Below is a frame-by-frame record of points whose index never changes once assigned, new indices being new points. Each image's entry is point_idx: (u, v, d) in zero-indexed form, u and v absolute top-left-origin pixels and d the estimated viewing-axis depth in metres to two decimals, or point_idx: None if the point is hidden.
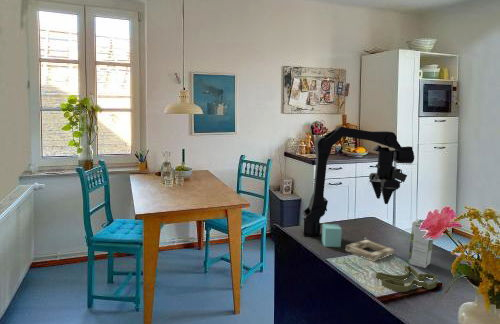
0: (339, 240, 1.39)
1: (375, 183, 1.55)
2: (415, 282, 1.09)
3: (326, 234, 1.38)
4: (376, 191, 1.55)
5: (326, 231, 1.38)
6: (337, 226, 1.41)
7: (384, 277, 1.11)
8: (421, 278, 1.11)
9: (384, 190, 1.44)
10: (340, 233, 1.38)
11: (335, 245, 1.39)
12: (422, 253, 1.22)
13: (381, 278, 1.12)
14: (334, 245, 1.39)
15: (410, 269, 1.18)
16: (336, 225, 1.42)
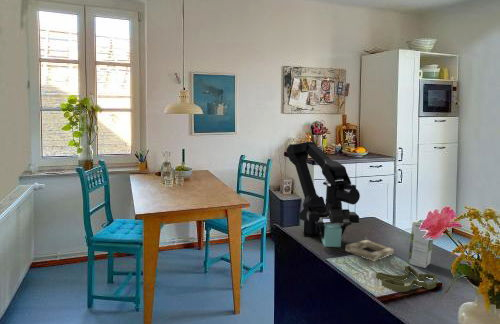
0: (339, 240, 1.39)
1: None
2: (415, 282, 1.09)
3: (326, 234, 1.38)
4: None
5: (326, 231, 1.38)
6: (337, 226, 1.41)
7: (384, 277, 1.11)
8: (421, 278, 1.11)
9: None
10: (340, 233, 1.38)
11: (335, 245, 1.39)
12: (422, 253, 1.22)
13: (381, 278, 1.12)
14: (334, 245, 1.39)
15: (410, 269, 1.18)
16: (336, 225, 1.42)
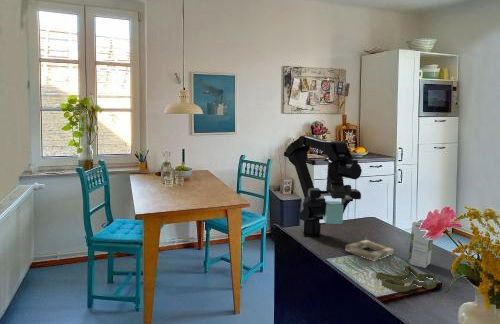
0: (341, 217, 1.38)
1: (342, 199, 1.41)
2: (415, 282, 1.09)
3: (327, 210, 1.37)
4: None
5: (327, 207, 1.37)
6: (339, 203, 1.40)
7: (384, 277, 1.11)
8: (421, 278, 1.11)
9: (319, 199, 1.42)
10: (342, 209, 1.37)
11: (337, 222, 1.38)
12: (422, 253, 1.22)
13: (381, 278, 1.12)
14: (336, 222, 1.38)
15: (410, 269, 1.18)
16: (338, 202, 1.41)
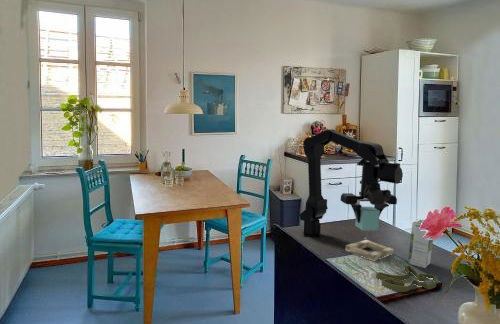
0: (377, 223, 1.31)
1: (375, 204, 1.35)
2: (415, 282, 1.09)
3: (364, 217, 1.30)
4: None
5: (364, 214, 1.30)
6: (373, 208, 1.33)
7: (384, 277, 1.11)
8: (421, 278, 1.11)
9: None
10: (378, 215, 1.31)
11: (373, 228, 1.31)
12: (422, 253, 1.22)
13: (381, 278, 1.12)
14: (372, 228, 1.31)
15: (410, 269, 1.18)
16: (371, 207, 1.35)
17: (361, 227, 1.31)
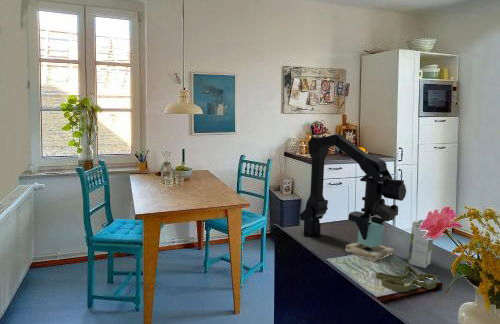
0: (381, 237, 1.32)
1: (374, 218, 1.36)
2: (415, 282, 1.09)
3: (373, 234, 1.29)
4: None
5: (373, 231, 1.29)
6: (375, 223, 1.34)
7: (384, 277, 1.11)
8: (421, 278, 1.11)
9: (357, 223, 1.31)
10: (382, 230, 1.32)
11: (378, 244, 1.32)
12: (422, 253, 1.22)
13: (381, 278, 1.12)
14: (378, 244, 1.32)
15: (410, 269, 1.18)
16: (371, 222, 1.35)
17: (370, 244, 1.30)
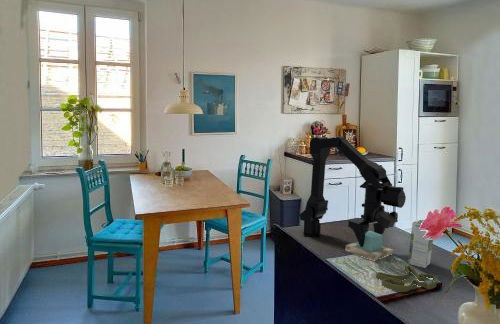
0: (380, 247, 1.33)
1: (375, 224, 1.37)
2: (415, 282, 1.09)
3: (372, 244, 1.30)
4: None
5: (372, 240, 1.29)
6: (374, 233, 1.34)
7: (384, 277, 1.11)
8: (421, 278, 1.11)
9: (355, 230, 1.31)
10: (381, 240, 1.32)
11: None
12: (422, 253, 1.22)
13: (381, 278, 1.12)
14: None
15: (410, 269, 1.18)
16: (371, 232, 1.35)
17: None
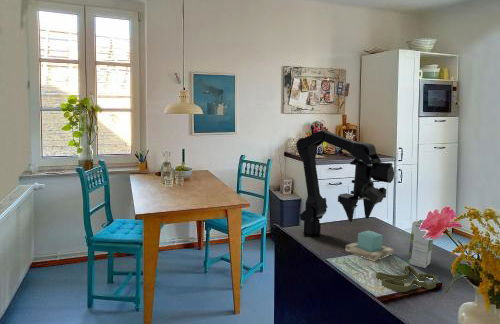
0: (380, 247, 1.33)
1: (365, 201, 1.41)
2: (415, 282, 1.09)
3: (372, 244, 1.30)
4: (365, 209, 1.40)
5: (372, 240, 1.29)
6: (374, 233, 1.34)
7: (384, 277, 1.11)
8: (421, 278, 1.11)
9: (344, 205, 1.34)
10: (381, 240, 1.32)
11: None
12: (422, 253, 1.22)
13: (381, 278, 1.12)
14: None
15: (410, 269, 1.18)
16: (371, 232, 1.35)
17: None
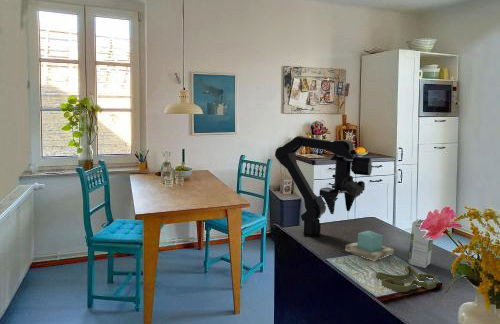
0: (380, 247, 1.33)
1: (346, 194, 1.49)
2: (415, 282, 1.09)
3: (372, 244, 1.30)
4: (346, 203, 1.49)
5: (372, 240, 1.29)
6: (374, 233, 1.34)
7: (384, 277, 1.11)
8: (421, 278, 1.11)
9: (326, 198, 1.43)
10: (381, 240, 1.32)
11: None
12: (422, 253, 1.22)
13: (381, 278, 1.12)
14: None
15: (410, 269, 1.18)
16: (371, 232, 1.35)
17: None
